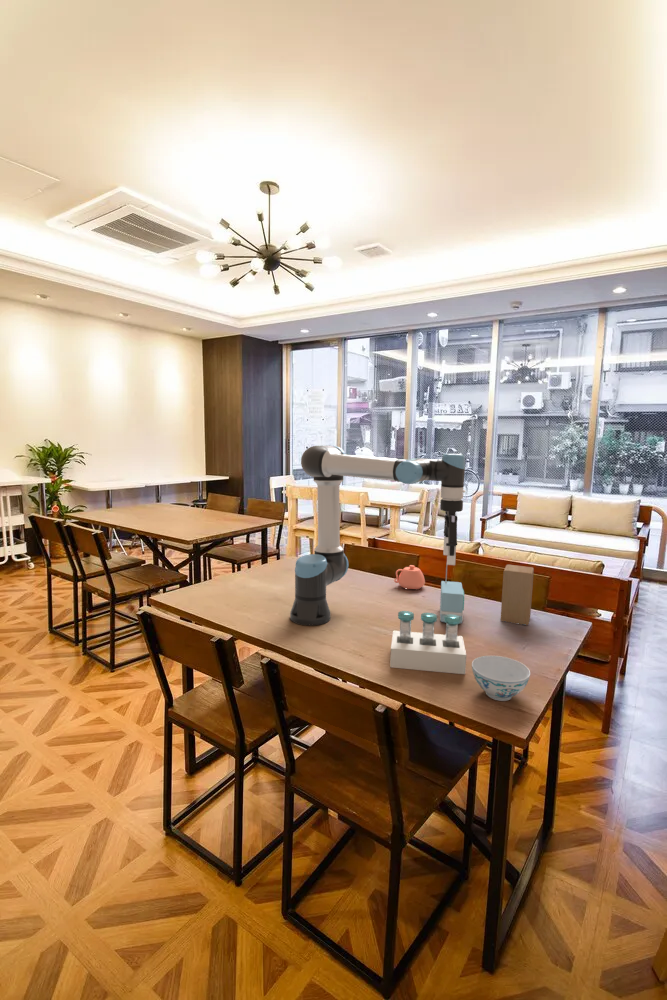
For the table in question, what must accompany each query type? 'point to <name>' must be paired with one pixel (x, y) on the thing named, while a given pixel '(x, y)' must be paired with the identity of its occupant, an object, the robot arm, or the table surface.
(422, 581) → the pink teapot
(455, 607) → the radio
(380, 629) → the table surface
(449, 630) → the knob
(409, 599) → the table surface
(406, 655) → the mount
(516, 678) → the chinaware
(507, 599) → the wooden block
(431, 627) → the knob mid
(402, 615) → the knob
